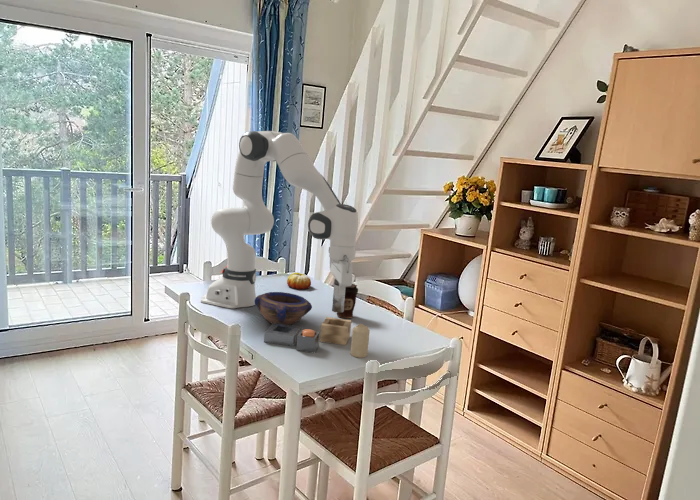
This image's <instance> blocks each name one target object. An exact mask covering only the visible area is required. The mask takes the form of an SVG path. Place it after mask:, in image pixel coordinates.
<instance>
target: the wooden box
mask: <svg viewBox="0 0 700 500" xmlns="http://www.w3.org/2000/svg"><path fill="white" fill-rule="evenodd" d="M351 327H352V320H351V319H346V318H339V317H337V318H336V317H328V316H326V318H325V319H324V320H323V322H322V323H321V325H320V333H319V343H320V342H321V343H329V344H336V345H341V346H346V345H347V343H348V341H349V339H350V338H351V330H352V328H351Z"/></svg>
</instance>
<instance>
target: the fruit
mask: <svg viewBox="0 0 700 500" xmlns="http://www.w3.org/2000/svg"><path fill="white" fill-rule="evenodd" d="M286 284H287V287H290V289H295V290H307V289H309V288H310V287H311V286H312V281H311V278H310V277H309V276H308V275H306V274H305V273H300V272H292V273H291V274H290V275H288V277H287V279H286Z"/></svg>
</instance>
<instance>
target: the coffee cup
mask: <svg viewBox="0 0 700 500" xmlns="http://www.w3.org/2000/svg"><path fill="white" fill-rule="evenodd" d="M357 286H358V285H357V284H355V283H352V285H351V286H346V288H345V300H344V311H343V312H341V313H337V312H336V316H337V318H340V319H353V317H354V314H353V313H354V310H355V306H356V302H357V295H358V293H359V288H358V287H357Z"/></svg>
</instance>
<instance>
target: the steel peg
mask: <svg viewBox="0 0 700 500" xmlns="http://www.w3.org/2000/svg"><path fill="white" fill-rule="evenodd" d="M345 288H346V287H345ZM338 289H339V282H338V281H337V280H336V279H335V278H334V280H333V295H332V307H331V311H332V312H333V313H336V314H337V313H341V312H343V311H344V300H345V290H344V295H339V294H338Z"/></svg>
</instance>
